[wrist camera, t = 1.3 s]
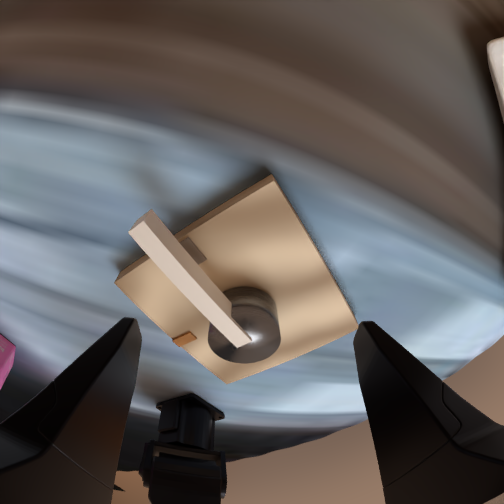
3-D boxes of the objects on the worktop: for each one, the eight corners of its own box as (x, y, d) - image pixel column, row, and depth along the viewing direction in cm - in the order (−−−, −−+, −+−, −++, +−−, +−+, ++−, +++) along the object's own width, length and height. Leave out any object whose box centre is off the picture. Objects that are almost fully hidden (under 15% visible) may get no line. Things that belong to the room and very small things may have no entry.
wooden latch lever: (288, 318, 23) (293, 350, 20) (235, 342, 24) (234, 374, 21) (182, 181, 17) (170, 200, 14) (125, 224, 18) (106, 249, 15)
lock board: (354, 316, 25) (360, 329, 24) (227, 372, 29) (226, 385, 27) (271, 173, 19) (274, 181, 17) (120, 271, 22) (113, 284, 21)
